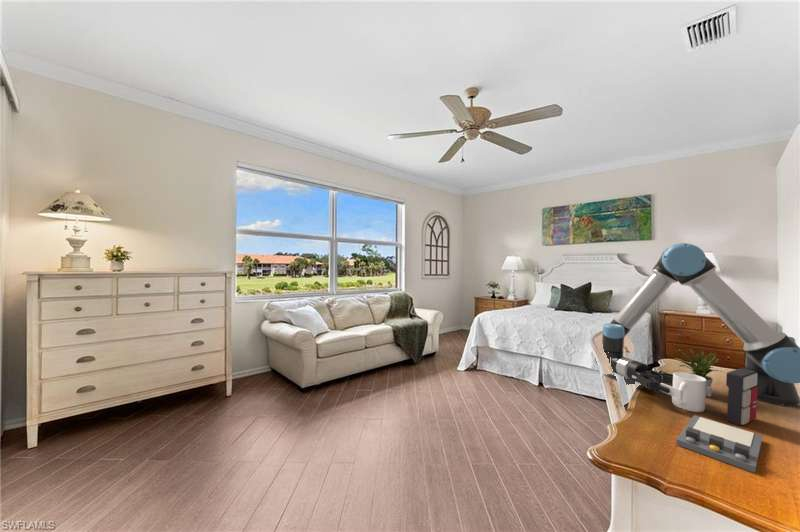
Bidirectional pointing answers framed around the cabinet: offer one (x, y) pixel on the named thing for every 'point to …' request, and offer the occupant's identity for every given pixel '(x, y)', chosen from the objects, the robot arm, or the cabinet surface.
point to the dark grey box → (741, 396)
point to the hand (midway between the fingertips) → (696, 393)
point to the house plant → (700, 365)
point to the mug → (690, 391)
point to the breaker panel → (726, 450)
